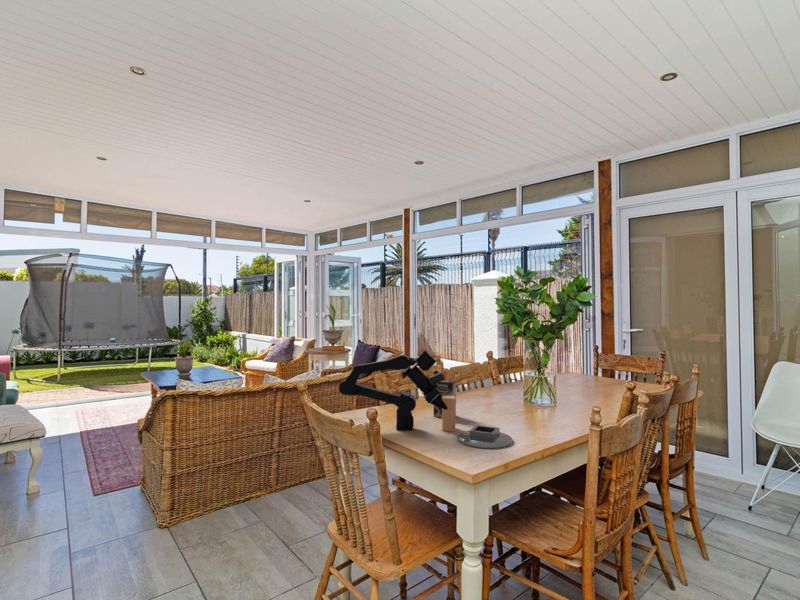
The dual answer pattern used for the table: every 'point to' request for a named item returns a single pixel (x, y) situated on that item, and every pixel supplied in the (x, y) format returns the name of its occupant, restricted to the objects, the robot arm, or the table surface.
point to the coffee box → (445, 394)
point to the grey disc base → (485, 438)
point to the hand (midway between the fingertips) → (446, 406)
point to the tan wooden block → (448, 414)
